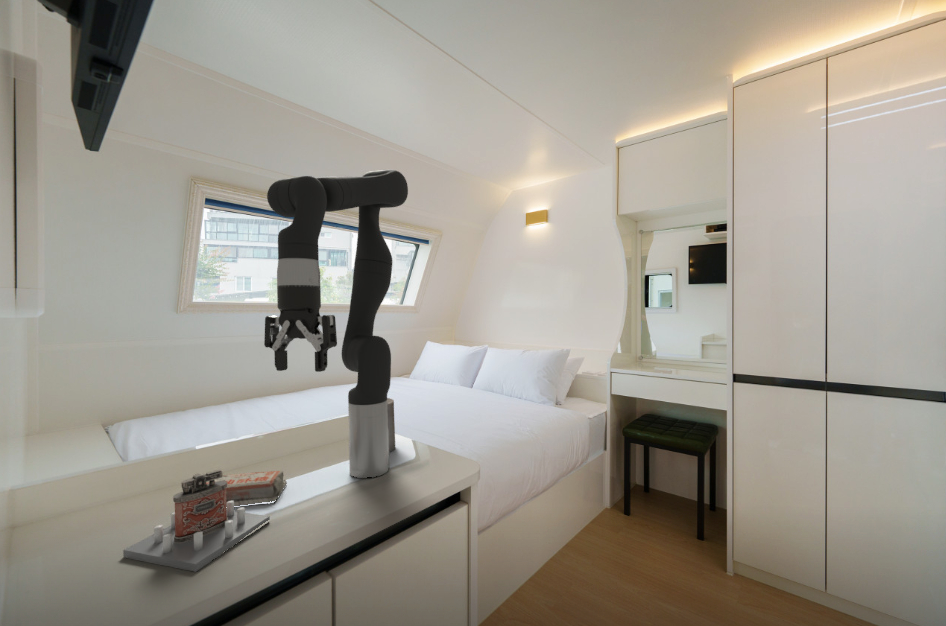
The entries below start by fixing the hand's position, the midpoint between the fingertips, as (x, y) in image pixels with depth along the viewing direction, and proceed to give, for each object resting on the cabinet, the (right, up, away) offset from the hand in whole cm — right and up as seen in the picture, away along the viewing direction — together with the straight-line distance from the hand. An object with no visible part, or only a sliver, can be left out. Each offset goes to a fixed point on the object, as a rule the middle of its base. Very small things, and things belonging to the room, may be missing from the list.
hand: (300, 370), depth 78 cm
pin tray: (-15, -28, -6) cm, 33 cm away
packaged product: (-18, -29, +10) cm, 36 cm away
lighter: (-15, -27, -6) cm, 32 cm away
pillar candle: (+5, -28, +39) cm, 49 cm away
